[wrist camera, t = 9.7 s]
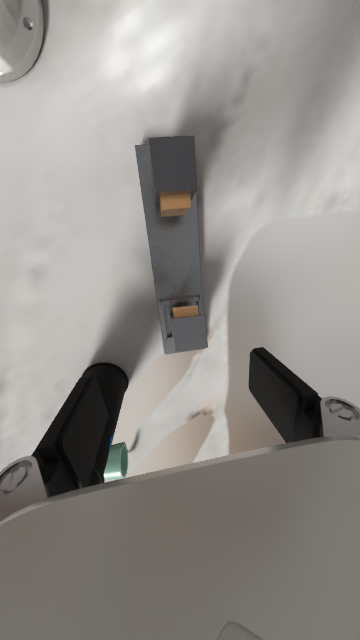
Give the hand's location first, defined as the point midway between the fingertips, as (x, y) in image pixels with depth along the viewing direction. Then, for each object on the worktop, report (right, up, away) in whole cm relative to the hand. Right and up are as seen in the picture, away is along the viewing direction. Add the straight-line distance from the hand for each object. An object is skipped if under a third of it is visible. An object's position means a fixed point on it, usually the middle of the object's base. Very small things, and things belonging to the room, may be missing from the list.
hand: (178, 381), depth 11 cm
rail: (-1, +12, +17) cm, 21 cm away
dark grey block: (+1, +3, +17) cm, 18 cm away
